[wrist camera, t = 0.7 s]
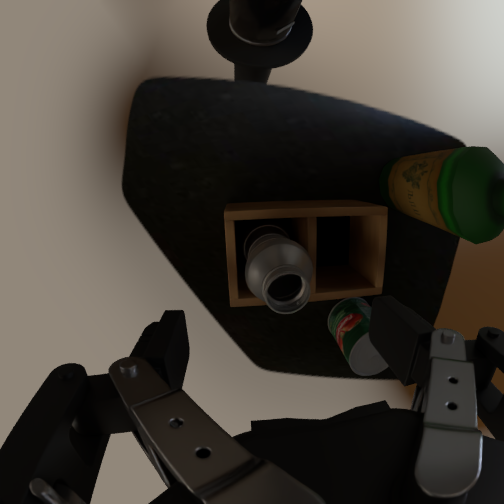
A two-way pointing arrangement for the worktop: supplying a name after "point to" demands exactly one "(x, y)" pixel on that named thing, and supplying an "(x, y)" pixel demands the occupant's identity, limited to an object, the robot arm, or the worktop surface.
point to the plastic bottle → (276, 267)
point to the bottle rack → (304, 233)
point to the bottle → (449, 190)
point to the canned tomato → (355, 335)
